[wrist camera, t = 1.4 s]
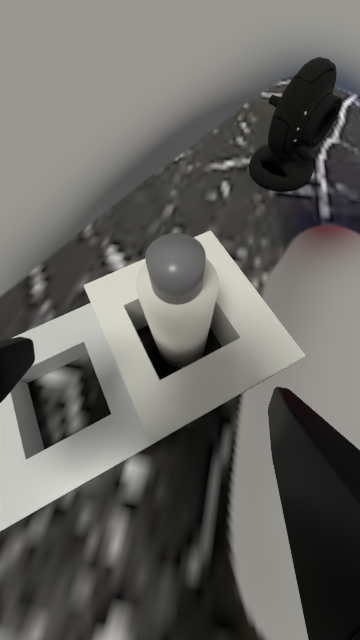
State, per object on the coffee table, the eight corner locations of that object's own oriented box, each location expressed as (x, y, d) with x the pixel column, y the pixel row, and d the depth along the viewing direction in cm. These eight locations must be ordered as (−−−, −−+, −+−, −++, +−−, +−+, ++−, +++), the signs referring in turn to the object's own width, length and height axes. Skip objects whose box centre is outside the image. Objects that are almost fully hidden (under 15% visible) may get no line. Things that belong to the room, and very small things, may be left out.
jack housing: (278, 371, 20) (305, 355, 16) (14, 523, 17) (-51, 560, 12) (206, 266, 25) (210, 230, 20) (-16, 368, 21) (-72, 352, 16)
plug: (214, 353, 21) (243, 272, 10) (170, 376, 20) (152, 316, 9) (190, 314, 23) (194, 208, 12) (149, 334, 22) (112, 241, 11)
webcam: (284, 203, 28) (331, 94, 19) (235, 172, 30) (255, 62, 21) (323, 171, 30) (383, 58, 21) (274, 144, 32) (309, 32, 23)
